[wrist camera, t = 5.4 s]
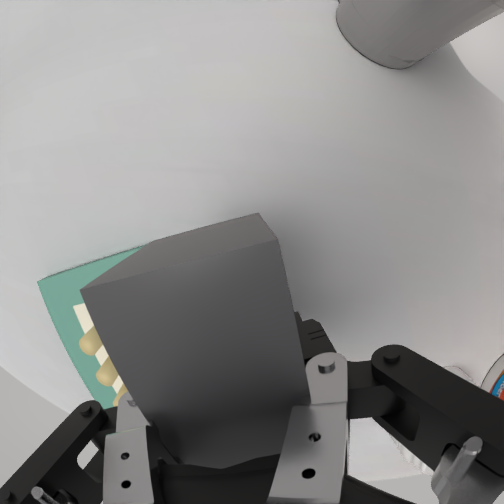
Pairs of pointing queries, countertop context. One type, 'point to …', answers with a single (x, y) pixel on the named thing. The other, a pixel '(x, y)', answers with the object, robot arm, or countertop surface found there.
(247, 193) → the countertop surface
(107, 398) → the header board
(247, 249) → the block
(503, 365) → the fruit juice
